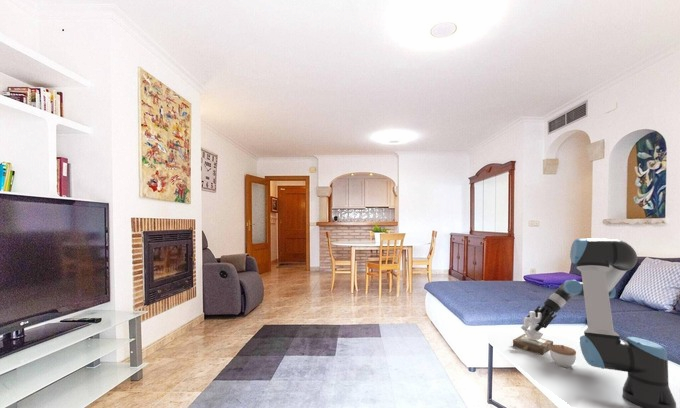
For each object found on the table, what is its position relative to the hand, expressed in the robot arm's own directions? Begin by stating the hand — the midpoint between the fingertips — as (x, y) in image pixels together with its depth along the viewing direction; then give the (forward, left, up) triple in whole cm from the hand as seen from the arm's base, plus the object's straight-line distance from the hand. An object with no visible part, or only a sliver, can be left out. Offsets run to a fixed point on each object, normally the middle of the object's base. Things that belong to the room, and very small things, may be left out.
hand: (526, 331), depth 180 cm
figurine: (+3, -2, -4) cm, 5 cm away
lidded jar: (-10, -20, -9) cm, 24 cm away
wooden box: (+1, -2, -8) cm, 9 cm away
